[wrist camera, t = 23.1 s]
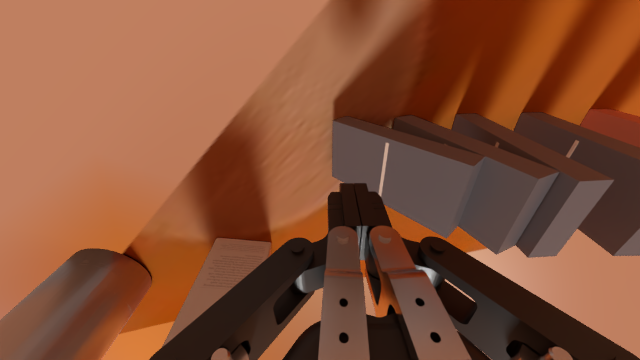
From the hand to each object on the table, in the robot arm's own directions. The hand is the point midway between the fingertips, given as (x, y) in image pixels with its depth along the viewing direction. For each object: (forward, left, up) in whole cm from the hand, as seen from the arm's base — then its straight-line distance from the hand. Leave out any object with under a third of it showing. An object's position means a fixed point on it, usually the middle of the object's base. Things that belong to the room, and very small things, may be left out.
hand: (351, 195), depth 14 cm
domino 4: (+7, -13, -8) cm, 17 cm away
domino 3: (+5, -9, -8) cm, 13 cm away
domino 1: (0, 0, -7) cm, 7 cm away
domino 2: (+2, -4, -7) cm, 9 cm away
